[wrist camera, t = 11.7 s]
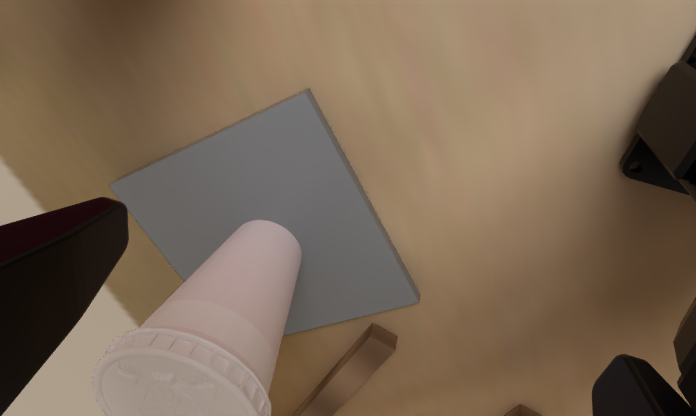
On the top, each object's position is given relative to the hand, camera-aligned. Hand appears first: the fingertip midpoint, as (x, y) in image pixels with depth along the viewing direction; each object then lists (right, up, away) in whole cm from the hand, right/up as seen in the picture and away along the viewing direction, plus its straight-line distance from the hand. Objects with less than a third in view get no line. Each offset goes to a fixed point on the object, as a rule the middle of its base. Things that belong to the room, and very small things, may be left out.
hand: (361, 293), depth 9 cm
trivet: (-4, 0, +17) cm, 17 cm away
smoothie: (-4, -1, +16) cm, 17 cm away
